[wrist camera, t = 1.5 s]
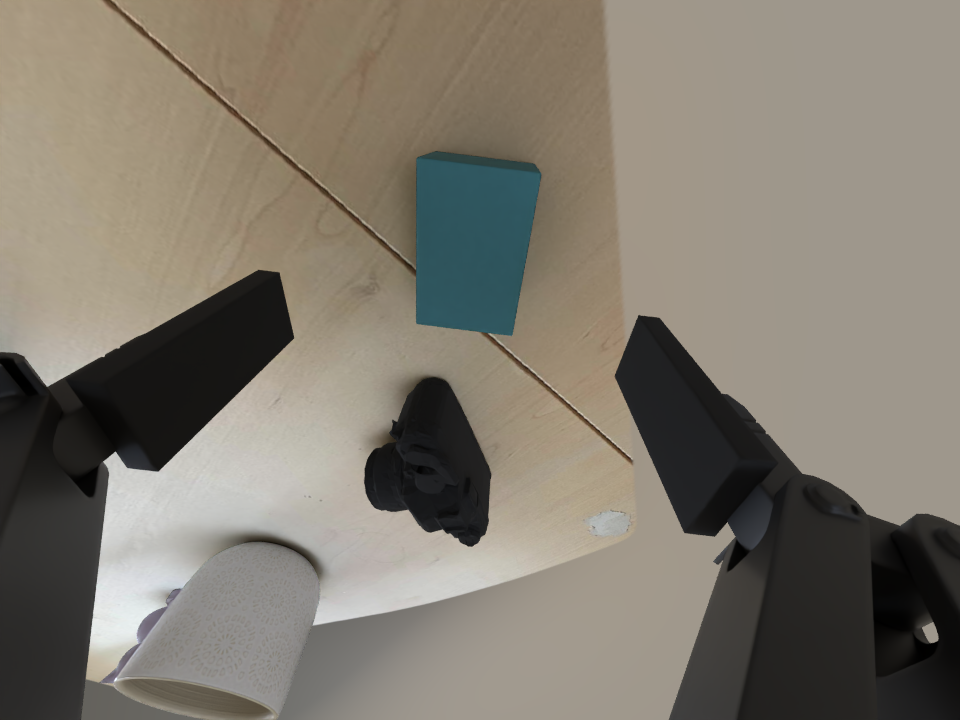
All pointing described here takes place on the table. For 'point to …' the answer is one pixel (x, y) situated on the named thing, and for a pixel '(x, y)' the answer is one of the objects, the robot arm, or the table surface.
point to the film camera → (432, 466)
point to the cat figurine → (141, 636)
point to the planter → (229, 637)
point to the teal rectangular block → (472, 239)
